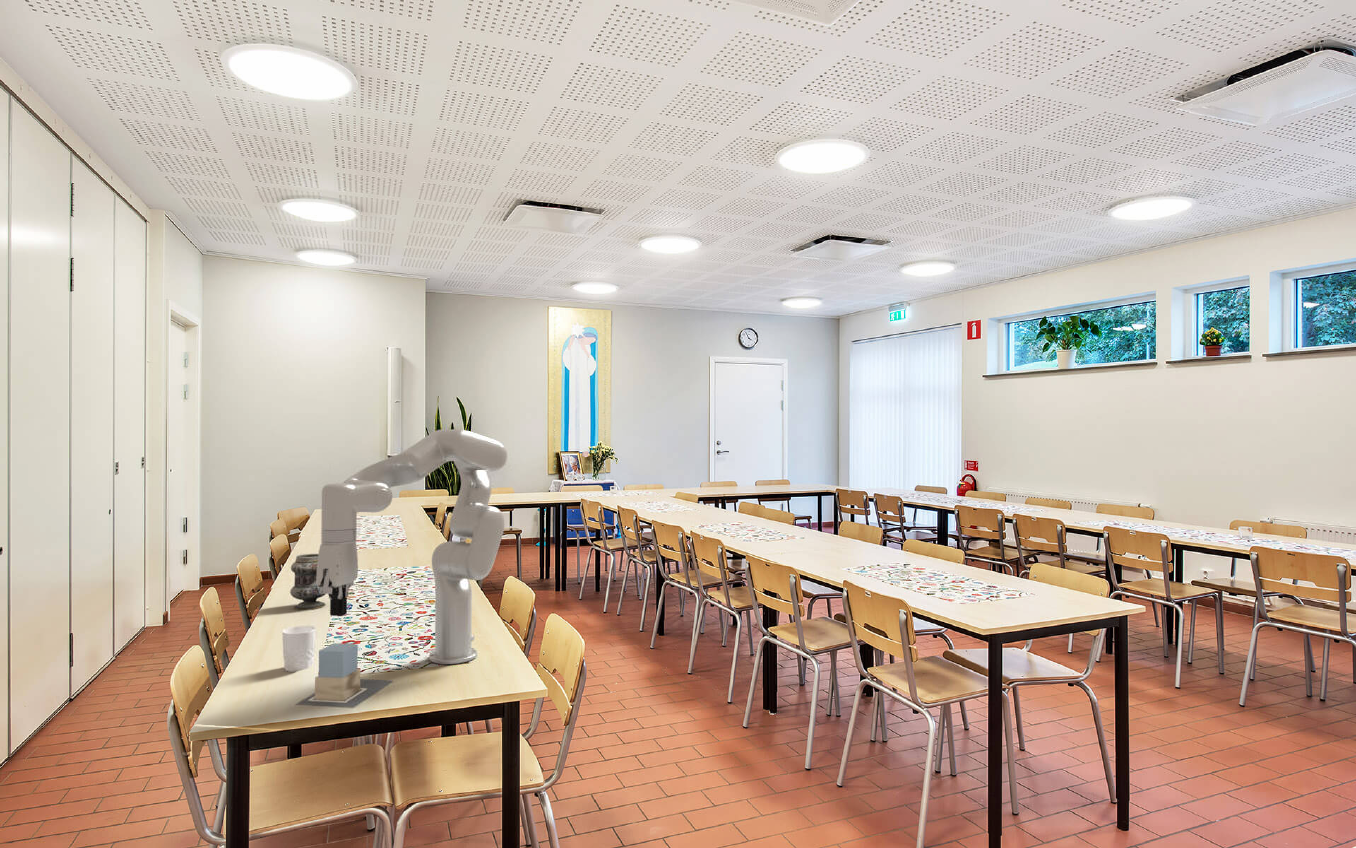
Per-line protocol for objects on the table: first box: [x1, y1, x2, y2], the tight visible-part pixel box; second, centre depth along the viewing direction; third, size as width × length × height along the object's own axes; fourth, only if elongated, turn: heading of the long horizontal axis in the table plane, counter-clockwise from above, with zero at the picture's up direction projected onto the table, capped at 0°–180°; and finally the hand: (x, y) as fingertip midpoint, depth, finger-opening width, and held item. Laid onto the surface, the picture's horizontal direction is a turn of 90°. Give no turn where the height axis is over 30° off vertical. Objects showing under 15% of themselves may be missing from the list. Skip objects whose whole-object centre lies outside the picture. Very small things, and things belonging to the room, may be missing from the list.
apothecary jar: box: [289, 553, 326, 611], centre depth 263 cm, size 12×12×18 cm
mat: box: [295, 678, 394, 709], centre depth 178 cm, size 18×14×1 cm
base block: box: [314, 668, 361, 701], centre depth 176 cm, size 7×7×5 cm
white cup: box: [281, 625, 317, 673], centre depth 197 cm, size 8×8×10 cm
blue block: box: [318, 642, 359, 678], centre depth 176 cm, size 6×6×6 cm
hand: (338, 614), depth 176 cm, fingers closed
